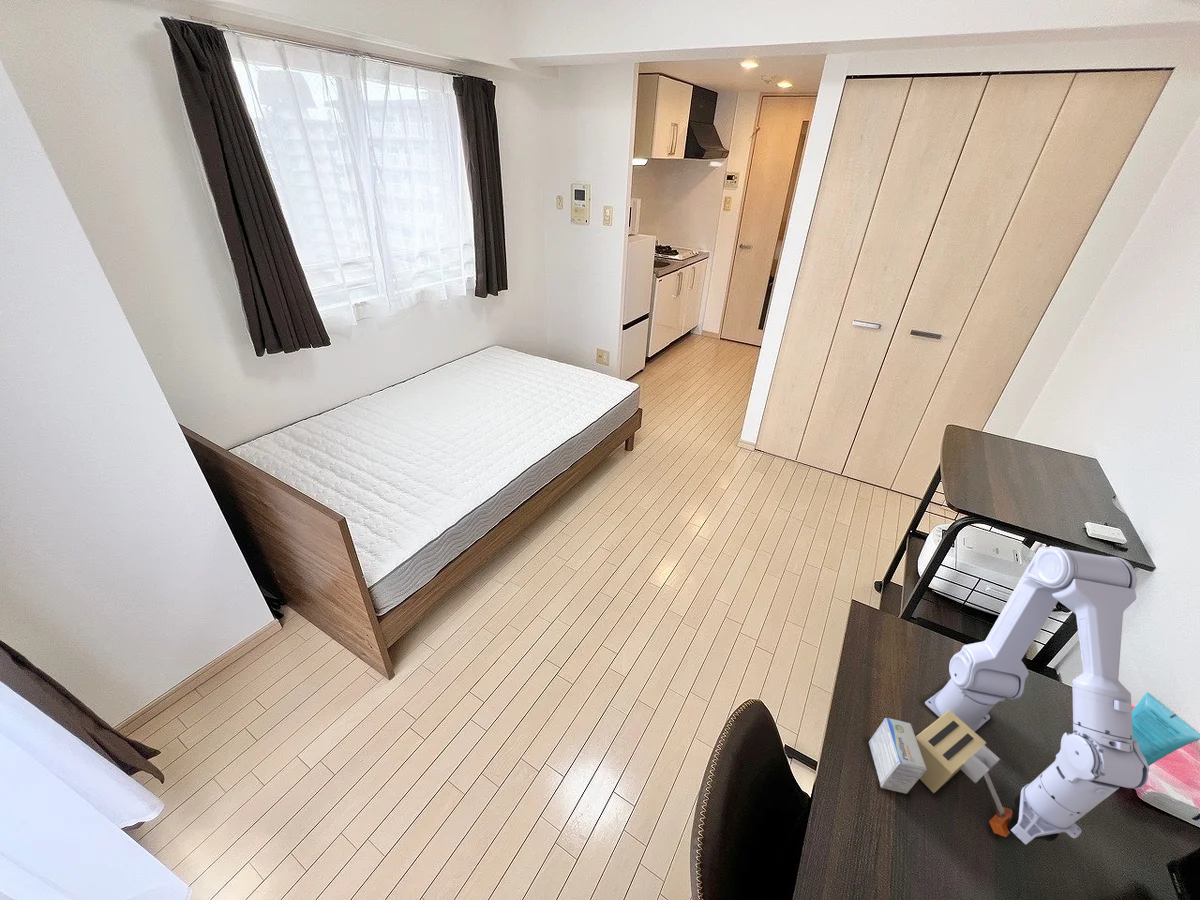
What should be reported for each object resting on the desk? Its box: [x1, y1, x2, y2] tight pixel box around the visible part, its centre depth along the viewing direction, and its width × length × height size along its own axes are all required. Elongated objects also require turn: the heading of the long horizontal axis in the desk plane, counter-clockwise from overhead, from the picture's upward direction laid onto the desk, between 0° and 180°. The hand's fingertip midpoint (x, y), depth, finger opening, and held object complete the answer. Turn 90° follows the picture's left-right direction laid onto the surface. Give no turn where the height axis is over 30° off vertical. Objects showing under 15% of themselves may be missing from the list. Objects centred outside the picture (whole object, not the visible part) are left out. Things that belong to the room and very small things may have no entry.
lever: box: [978, 757, 1012, 838], centre depth 79 cm, size 5×10×2 cm
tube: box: [1132, 691, 1200, 767], centre depth 83 cm, size 7×5×19 cm, turn 20°
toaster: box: [915, 710, 1001, 794], centre depth 84 cm, size 11×9×10 cm
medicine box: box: [868, 717, 927, 795], centre depth 83 cm, size 8×4×9 cm, turn 168°
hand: (1015, 832), depth 77 cm, fingers closed, pressing on lever
